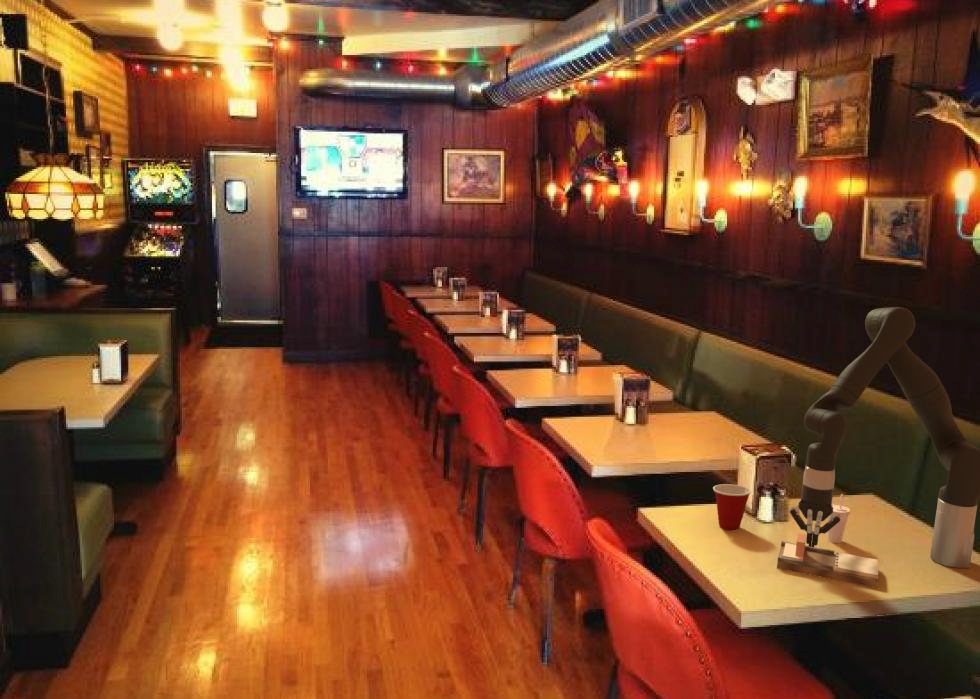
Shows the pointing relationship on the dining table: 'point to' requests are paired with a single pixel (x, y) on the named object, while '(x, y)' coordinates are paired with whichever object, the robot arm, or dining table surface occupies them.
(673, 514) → the dining table surface
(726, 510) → the plastic cup
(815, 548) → the mandoline slicer
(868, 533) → the dining table surface
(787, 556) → the white orange block
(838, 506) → the smoothie
